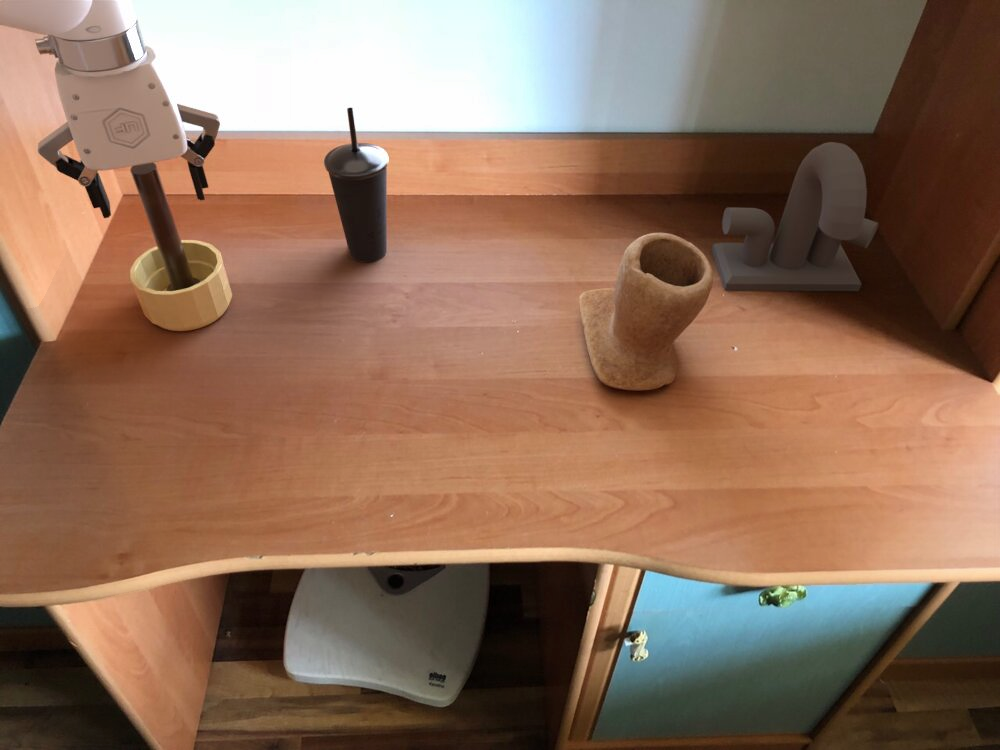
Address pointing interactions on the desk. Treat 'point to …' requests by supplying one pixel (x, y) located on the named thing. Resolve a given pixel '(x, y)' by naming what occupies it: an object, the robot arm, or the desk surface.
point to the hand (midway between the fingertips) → (154, 202)
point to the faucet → (802, 230)
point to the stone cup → (645, 311)
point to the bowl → (186, 304)
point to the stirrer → (163, 226)
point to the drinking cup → (360, 194)
